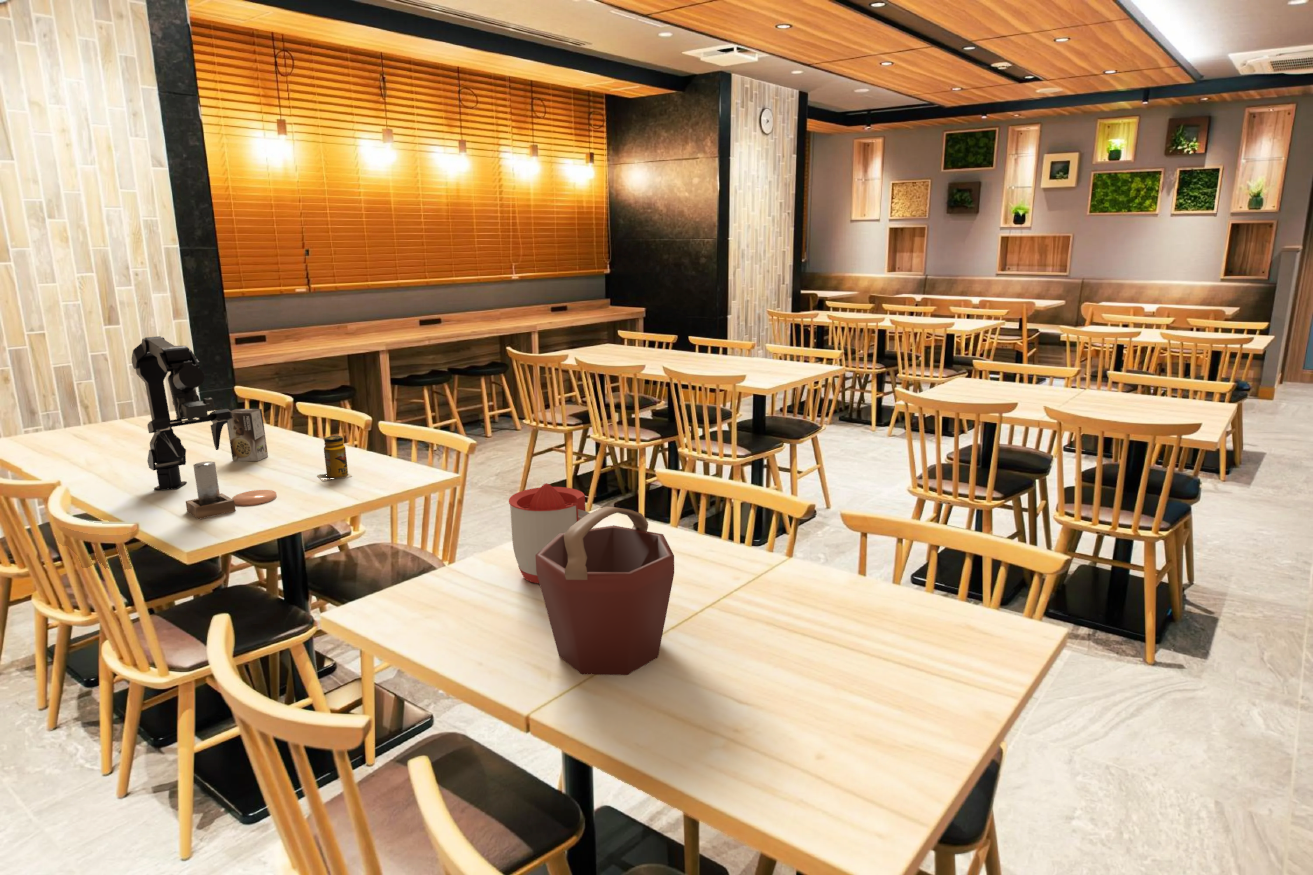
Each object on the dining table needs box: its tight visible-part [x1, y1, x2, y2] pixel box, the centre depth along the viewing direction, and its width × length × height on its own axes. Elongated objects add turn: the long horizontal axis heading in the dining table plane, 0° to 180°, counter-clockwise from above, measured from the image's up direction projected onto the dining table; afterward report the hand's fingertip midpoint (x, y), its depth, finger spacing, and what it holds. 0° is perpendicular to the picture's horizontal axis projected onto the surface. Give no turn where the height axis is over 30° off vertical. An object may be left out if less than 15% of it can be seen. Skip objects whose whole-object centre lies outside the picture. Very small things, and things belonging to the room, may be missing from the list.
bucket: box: [535, 505, 675, 676], centre depth 139 cm, size 24×22×25 cm
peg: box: [193, 460, 221, 506], centre depth 217 cm, size 5×5×13 cm
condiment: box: [317, 435, 352, 482], centre depth 248 cm, size 7×8×12 cm
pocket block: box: [185, 493, 237, 520], centre depth 218 cm, size 9×9×3 cm
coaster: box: [231, 489, 277, 507], centre depth 228 cm, size 11×11×1 cm
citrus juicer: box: [508, 482, 590, 584], centre depth 171 cm, size 16×17×20 cm
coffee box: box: [226, 408, 269, 462], centre depth 269 cm, size 9×6×16 cm
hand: (198, 453), depth 215 cm, fingers open, 9 cm apart
